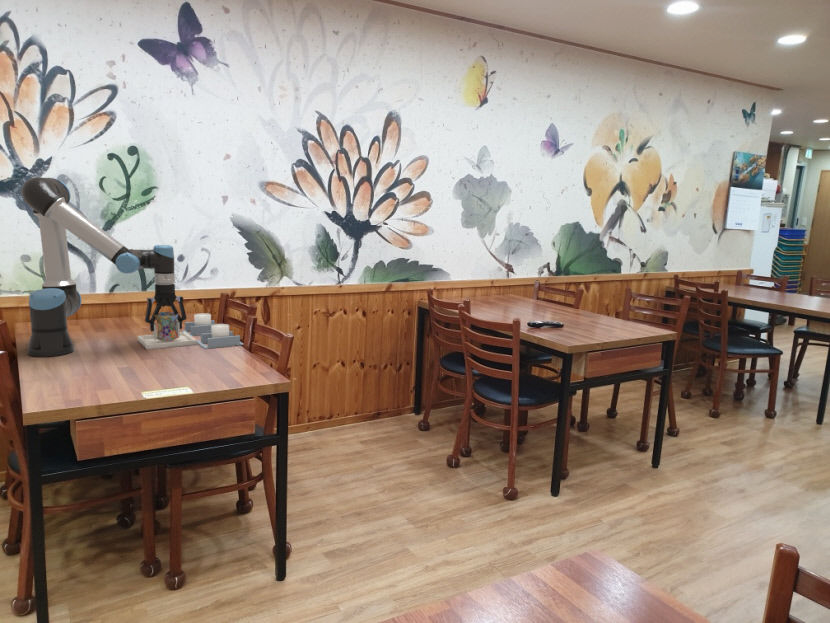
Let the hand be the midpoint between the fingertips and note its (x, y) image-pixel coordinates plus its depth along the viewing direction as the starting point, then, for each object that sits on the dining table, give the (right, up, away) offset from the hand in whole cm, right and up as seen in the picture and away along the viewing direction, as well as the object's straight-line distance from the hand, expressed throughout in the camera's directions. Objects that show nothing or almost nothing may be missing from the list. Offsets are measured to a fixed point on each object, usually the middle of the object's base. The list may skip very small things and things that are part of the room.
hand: (166, 337), depth 251 cm
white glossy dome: (+7, +2, +22) cm, 23 cm away
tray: (0, -2, 0) cm, 2 cm away
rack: (+15, -1, +12) cm, 19 cm away
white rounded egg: (+22, -3, +2) cm, 22 cm away
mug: (0, -1, 0) cm, 1 cm away
